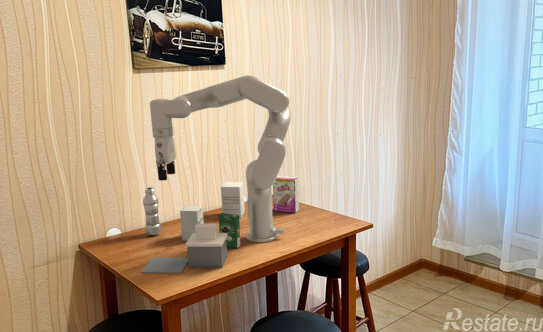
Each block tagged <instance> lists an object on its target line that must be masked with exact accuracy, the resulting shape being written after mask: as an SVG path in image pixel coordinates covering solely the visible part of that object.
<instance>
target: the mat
mask: <svg viewBox="0 0 543 332" xmlns="http://www.w3.org/2000/svg"><path fill="white" fill-rule="evenodd" d="M186 265H188V256H180V257H179V256H178V257H177V256H176V257H175V256H163V257H162V256H161V257H160V256H157V257H156V256H153V257H152V258H151V259H150V260H149V262H148V263H147V264H146V265H145V266H144V268H143V269H142V270H141V274H182V272H183V271H184V269H185V268H186Z"/></svg>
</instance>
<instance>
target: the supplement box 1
mask: <svg viewBox="0 0 543 332" xmlns="http://www.w3.org/2000/svg"><path fill="white" fill-rule="evenodd" d="M203 209H204V208H203V206H202V205H186V206H184V207H183V208H182V209H181V210H180V211H179V212H180V213H179V216H180V228H181V240H182V241H186V242H187V241H188V239H189V238H190V237H191V235H192V234H193V233H196V231H195V226H196V225H197V224H205V223H204V210H203Z"/></svg>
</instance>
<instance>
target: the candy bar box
mask: <svg viewBox="0 0 543 332" xmlns="http://www.w3.org/2000/svg"><path fill="white" fill-rule="evenodd" d="M272 192H273V193H272V199H273V211H274V212H280V213H290V214H297V213H298V212H299V210H300V201H299V200H300V199H299V198H300V197H299V196H300V195H299V193H300V189H299V176H290V175H289V176H285V175H277V178H276V180H275V182H274V183H273V185H272Z"/></svg>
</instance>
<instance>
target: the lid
mask: <svg viewBox="0 0 543 332" xmlns="http://www.w3.org/2000/svg"><path fill="white" fill-rule="evenodd" d="M217 227H218V226H217V223H204V224H197V225H196V226H195V231H196V233H193V234H192V235H191V237H190V238H189V239H188V241H187V240H186V242H185V247H186V248H187V247H222V245H223V243H224V241H225V239H226V237H227V233H219V232H218V228H217Z"/></svg>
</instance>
